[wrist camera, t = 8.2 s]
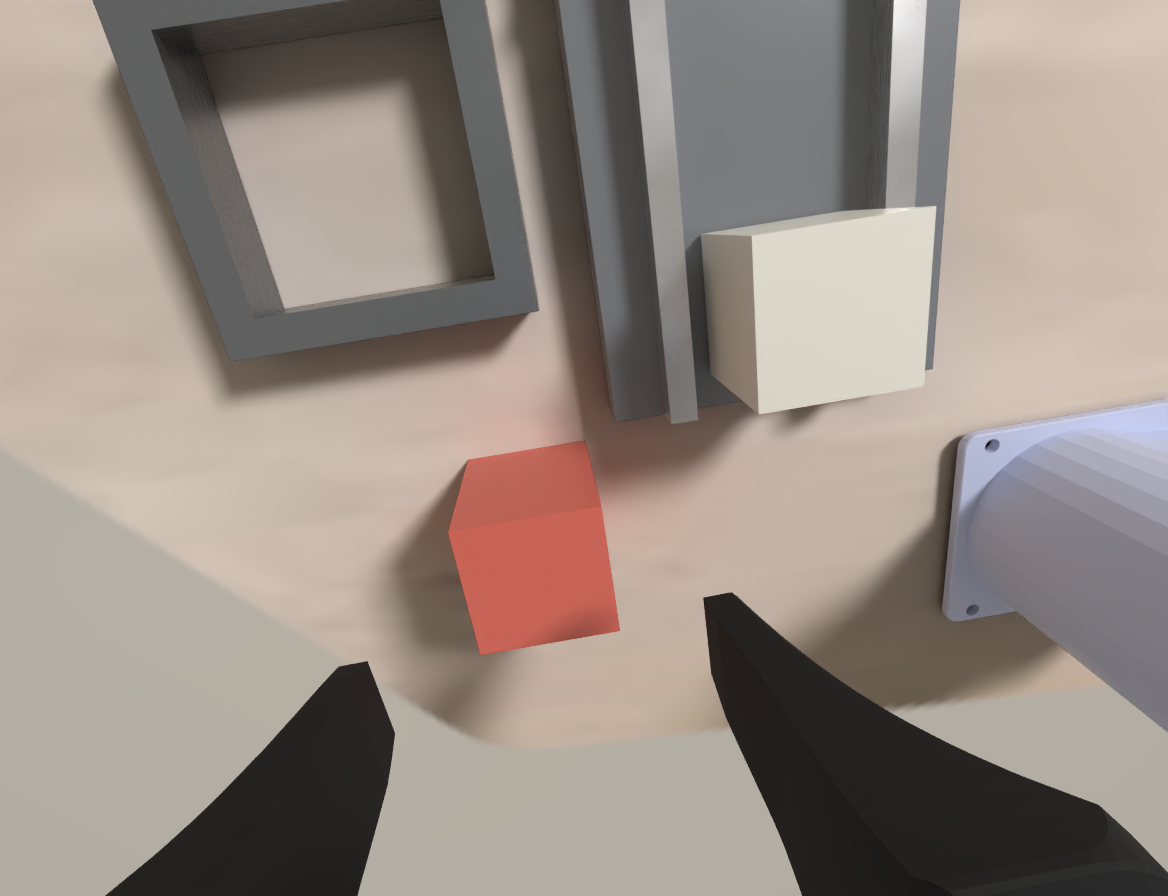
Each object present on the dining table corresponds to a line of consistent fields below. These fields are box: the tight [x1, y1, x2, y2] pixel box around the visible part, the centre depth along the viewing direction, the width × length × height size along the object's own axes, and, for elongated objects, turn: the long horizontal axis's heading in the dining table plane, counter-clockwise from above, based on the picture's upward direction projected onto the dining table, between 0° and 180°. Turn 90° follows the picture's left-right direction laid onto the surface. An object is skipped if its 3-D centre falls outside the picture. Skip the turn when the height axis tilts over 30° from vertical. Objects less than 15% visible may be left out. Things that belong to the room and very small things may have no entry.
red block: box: [448, 441, 620, 655], centre depth 18 cm, size 4×4×5 cm
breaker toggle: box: [701, 206, 936, 414], centre depth 15 cm, size 4×4×4 cm
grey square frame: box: [93, 0, 539, 362], centre depth 15 cm, size 8×8×2 cm
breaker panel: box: [554, 0, 960, 425], centre depth 16 cm, size 10×14×2 cm
